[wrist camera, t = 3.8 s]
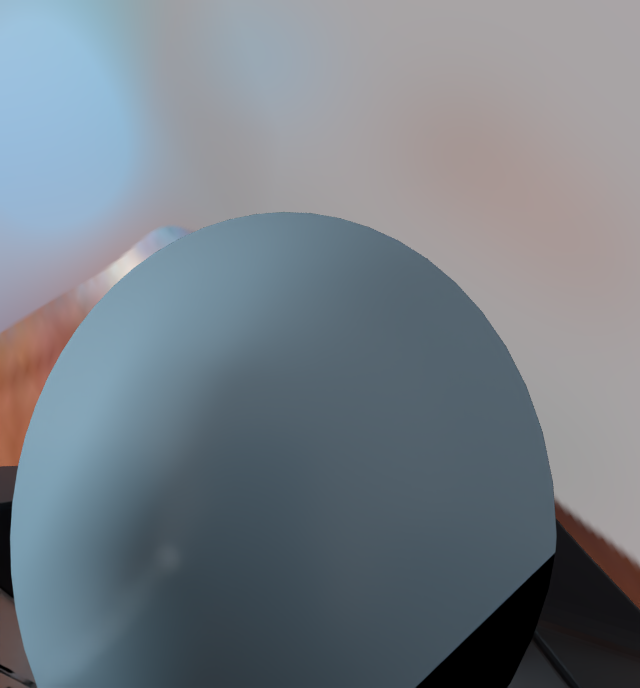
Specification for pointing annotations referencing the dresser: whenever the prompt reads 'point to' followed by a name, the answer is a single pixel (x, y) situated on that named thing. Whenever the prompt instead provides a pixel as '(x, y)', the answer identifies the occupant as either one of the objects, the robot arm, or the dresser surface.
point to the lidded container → (282, 475)
